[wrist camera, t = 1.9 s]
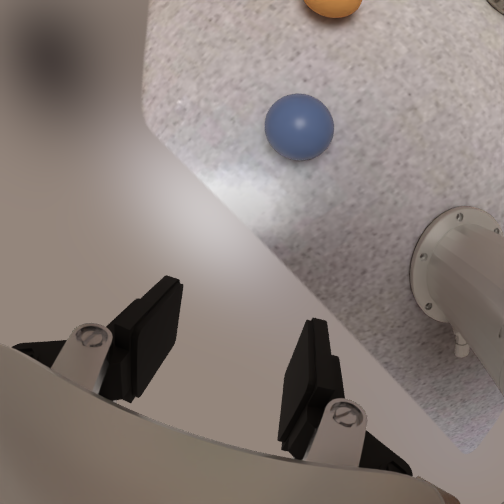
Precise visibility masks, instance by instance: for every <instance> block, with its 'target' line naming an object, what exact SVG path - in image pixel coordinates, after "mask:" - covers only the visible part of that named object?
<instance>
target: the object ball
mask: <svg viewBox="0 0 504 504" xmlns="http://www.w3.org/2000/svg"><path fill="white" fill-rule="evenodd" d="M304 2H305V3H306V4H307V6H308V7H309V8H310V9H312V10H313V11H314V12H316V13H318V14H320V15H322V16H326V17H330V18H340V17H345V16H348V15H350V14H352V13H353V12H355V11H356V10H357V9H358V8H359V6H360V4H361V2H362V0H304Z"/></svg>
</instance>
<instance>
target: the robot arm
mask: <svg viewBox="0 0 504 504" xmlns="http://www.w3.org/2000/svg"><path fill="white" fill-rule="evenodd" d="M456 216H457V217H456ZM421 254H422V256H421V257H420V255H421ZM410 284H411V288H412V293H413V295H414V298H415V300H416V302H417V304H418V305H419V306H420V308H421V309H422V310H423V311H424V313H425V314H426V315H427V316H429V317H431V318H432V319H434V320H436V321H439V322H444V323H450V324H451V325H452V327H453V333H454V334H455V335H456V339H455V350H454V354H455V356H457V357H459V358H463V357H466V356H467V355H468V354H469V351H470V348H471V349H472V351H473V352H474V353H475V355H476V356H477V358H478V359H479V360H480V362H481V363H482V365H483V366H484V367H485V369H486V370H487V372H488V373H489V375H490V376H491V378H492V379H493V381H494V382H495V384H496V385H497V387H498V388H499V390H500V391H501V393H502V395H503V396H504V235H503V232H502V230H501V228H500V226H499V224H498V223H497V221H496V220H495V219H494V218H493V217H492V216H491V215H490V214H488V213H487V212H485V211H483V210H481V209H478V208H474V207H471V206H461V207H457V208H452V209H450V210H448V211H446V212H444V213H443V214H441V215H440V216H439V217H437V218H436V219H435V220H434V221H433V222H432V223H431V224H430V225H429V226H428V227H427V228H426V230H425V231H424V233H423V235H422V236H421V238H420V239H419V242H418V244H417V246H416V248H415V251H414V254H413V258H412V261H411V269H410ZM182 291H183V284H180V280H179V279H176V278H173V277H170V276H164V277H163V278H162V279H161V280H160V281H159V282H158V283H157V284H156V285H155V286H154V287H152V288H151V289H150V290H149V291H148V292H147V293H146V294H145V295H144V296H143V297H142V298H141V299H136V300H134V301H133V302H132V303H131V304H130V305H129V306H128V307H127V308H126V309H125V310H123V311H122V312H121V313H120V314H119V315H118V316H117V317H116V318H115V319H114V320H113V321H112V322H111V323H110V324H109V325H107V326H106V327H105V326H102V325H100V324H94V323H86V324H82V325H79V326H78V327H76V328H75V329H74V330H73V331H72V333H71V335H70V336H69V338H68V339H67V340H63V341H48V342H32V343H20V344H17V345H15V346H13V347H12V348H11V347H9V346H6V345H4V344H0V504H460V502H459V500H458V499H457V498H455V497H454V496H453V495H451V494H449V493H447V492H446V491H444V490H442V489H440V488H438V487H436V486H435V485H433V484H431V483H430V482H428V481H426V480H424V479H423V478H421V477H419V476H417V477H416V478H415V477H412V476H413V475H412V470H411V468H410V466H409V465H408V464H407V463H406V462H405V461H404V460H403V459H402V458H400V457H399V456H398V455H396V454H395V453H394V452H393V451H391V450H390V449H389V448H388V447H386V446H385V445H384V444H382V443H381V442H380V441H378V440H377V439H376V438H375V437H374V436H373V435H371V434H370V433H369V432H368V431H366V426H367V415H366V412H365V410H364V409H363V408H362V407H361V406H360V405H359V404H357V403H356V402H354V401H352V400H348V399H345V396H344V388H343V382H342V375H341V368H340V362H339V357H338V356H334V355H331V349H330V342H329V334H328V326H327V322H326V321H325V320H321V319H316V318H312V320H311V321H310V320H306V322H305V325H304V327H303V330H302V333H301V335H300V338H299V340H298V343H297V345H296V348H295V350H294V353H293V355H292V358H291V360H290V363H289V365H288V367H287V370H286V373H285V377H284V385H283V395H282V405H281V414H280V422H279V431H278V441H281V442H282V448H281V450H284V451H289V453H291V454H292V456H293V458H286V457H280V456H276V455H270V454H266V453H261V452H257V451H252V450H248V449H244V448H240V447H236V446H232V445H229V444H225V443H222V442H218V441H215V440H211V439H208V438H205V437H202V436H198V435H195V434H192V433H189V432H186V431H184V430H181V429H178V428H175V427H172V426H170V425H167V424H164V423H162V422H159V421H156V420H154V419H151V418H149V417H146V416H144V415H142V414H139V413H137V412H134V411H132V410H130V409H128V408H125V407H123V406H121V405H119V404H117V403H116V402H117V400H119V399H123V400H125V401H127V402H129V403H132V401H133V399H134V398H135V396H136V397H138V398H139V397H140V396H141V395H142V393H143V392H144V390H145V389H146V387H147V386H148V384H149V383H150V381H151V379H152V378H153V376H154V375H155V373H156V371H157V370H158V369H159V367H160V366H161V364H162V363H163V361H164V359H165V358H166V356H167V355H168V353H169V352H170V350H171V349H172V347H173V346H174V344H175V341H176V336H177V328H178V320H179V313H180V306H181V299H182ZM502 504H504V502H503V503H502Z"/></svg>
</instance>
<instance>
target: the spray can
mask: <svg viewBox="0 0 504 504" xmlns="http://www.w3.org/2000/svg"><path fill="white" fill-rule="evenodd" d="M487 1H488V2H489V3H490V4H491V5H492V6H493V7H494V8H495V9H496V10H498V11H500V12H501V13H502V14H504V0H487Z"/></svg>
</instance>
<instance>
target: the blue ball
mask: <svg viewBox="0 0 504 504" xmlns="http://www.w3.org/2000/svg"><path fill="white" fill-rule="evenodd" d="M265 133H266V136H267V139H268V141H269V143H270V144H271V146H272V147H273V148H274V149H275V150H276V151H277V152H278V153H279V154H281V155H282V156H284V157H287V158H289V159H293V160H308V159H312V158H314V157H316V156H318V155H320V154H321V153H322V152H324V151H325V150H326V148H327V147H328V146H329V144H330V142H331V140H332V137H333V133H334V123H333V119H332V116H331V114H330V112H329V110H328V109H327V107H326V106H325V105H324V104H323V103H322V102H321V101H319V100H318V99H316V98H314V97H312V96H309V95H306V94H291V95H287V96H284V97H282V98H281V99H279V100H278V101H276V102H275V103H274V104H273V105H272V106H271V108H270V109H269V111H268V113H267V115H266V119H265Z"/></svg>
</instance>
